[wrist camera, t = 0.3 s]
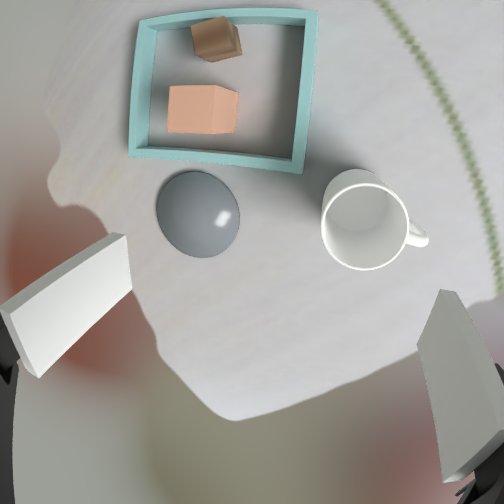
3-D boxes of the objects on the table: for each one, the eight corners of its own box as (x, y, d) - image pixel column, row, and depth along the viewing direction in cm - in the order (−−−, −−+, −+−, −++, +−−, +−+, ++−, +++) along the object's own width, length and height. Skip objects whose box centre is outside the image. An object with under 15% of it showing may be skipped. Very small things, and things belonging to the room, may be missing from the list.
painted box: (199, 92, 34) (168, 86, 27) (239, 93, 33) (215, 85, 26) (196, 129, 36) (165, 132, 29) (235, 132, 35) (211, 134, 28)
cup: (333, 159, 33) (334, 170, 24) (424, 190, 32) (454, 213, 23) (315, 223, 37) (309, 256, 28) (402, 250, 35) (421, 290, 26)
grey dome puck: (159, 168, 39) (157, 168, 38) (243, 176, 37) (242, 177, 36) (160, 247, 44) (158, 249, 43) (236, 263, 42) (235, 265, 41)
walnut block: (207, 36, 30) (190, 25, 26) (237, 28, 29) (223, 15, 25) (211, 62, 32) (195, 54, 27) (242, 55, 31) (229, 45, 26)
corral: (151, 25, 31) (139, 20, 28) (318, 19, 27) (317, 10, 24) (140, 154, 39) (128, 157, 36) (303, 170, 35) (300, 174, 32)
